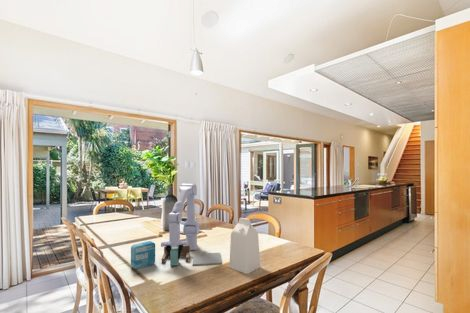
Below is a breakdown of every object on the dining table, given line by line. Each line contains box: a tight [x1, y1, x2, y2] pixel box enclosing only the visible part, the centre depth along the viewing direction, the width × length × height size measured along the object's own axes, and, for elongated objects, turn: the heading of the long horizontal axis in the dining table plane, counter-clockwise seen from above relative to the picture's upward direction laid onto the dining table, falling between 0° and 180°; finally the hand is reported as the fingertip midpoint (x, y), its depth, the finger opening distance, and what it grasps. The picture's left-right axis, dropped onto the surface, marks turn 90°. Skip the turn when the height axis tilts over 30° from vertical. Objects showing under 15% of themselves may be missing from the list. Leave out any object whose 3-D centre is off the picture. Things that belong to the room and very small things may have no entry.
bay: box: [161, 245, 191, 264], centre depth 145 cm, size 10×15×6 cm
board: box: [192, 252, 222, 267], centre depth 144 cm, size 16×16×1 cm
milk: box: [229, 217, 261, 275], centre depth 133 cm, size 12×12×26 cm
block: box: [169, 247, 180, 267], centre depth 137 cm, size 6×4×8 cm, turn 7°
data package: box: [130, 240, 156, 270], centre depth 136 cm, size 12×4×12 cm, turn 134°
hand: (174, 258), depth 137 cm, fingers closed on block, 4 cm apart
